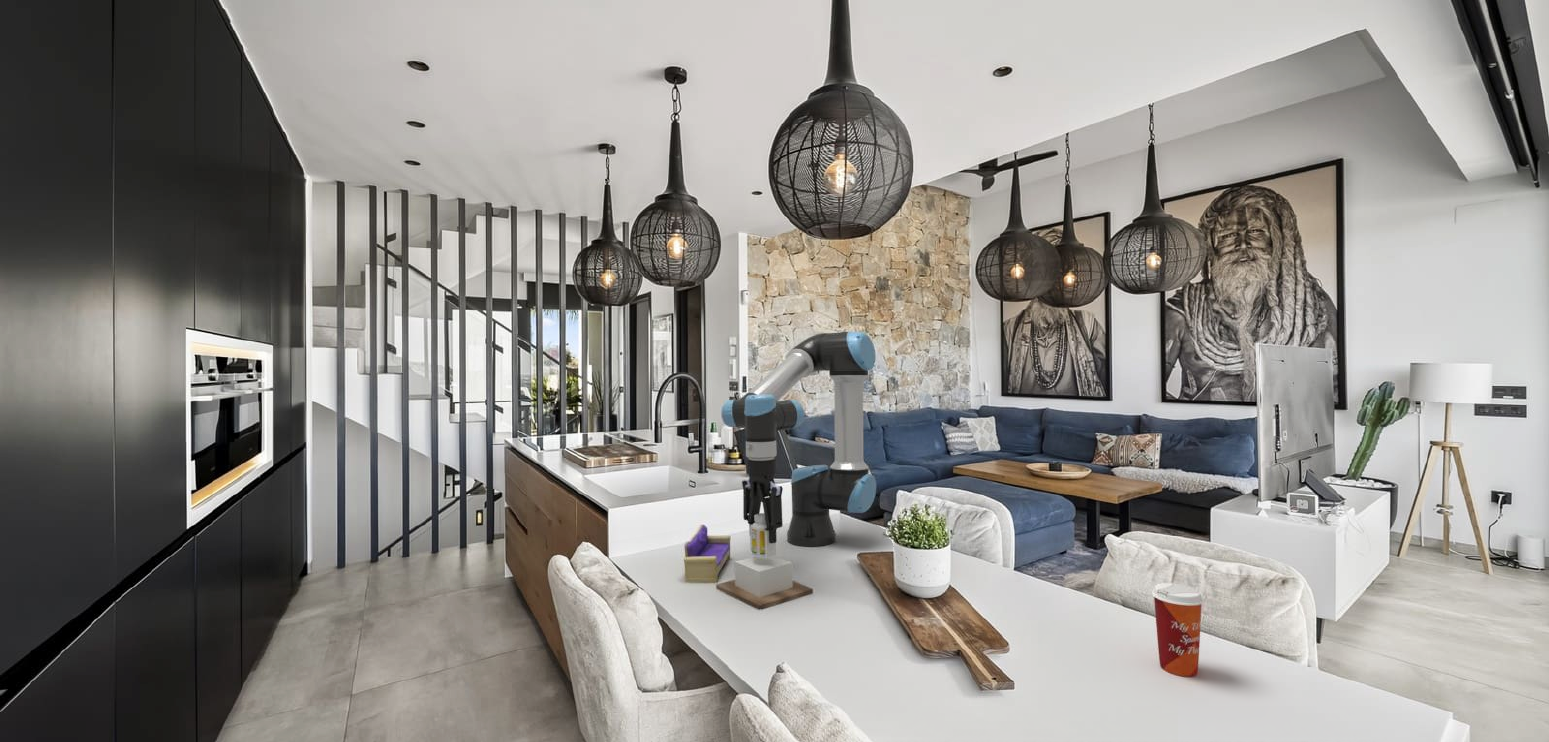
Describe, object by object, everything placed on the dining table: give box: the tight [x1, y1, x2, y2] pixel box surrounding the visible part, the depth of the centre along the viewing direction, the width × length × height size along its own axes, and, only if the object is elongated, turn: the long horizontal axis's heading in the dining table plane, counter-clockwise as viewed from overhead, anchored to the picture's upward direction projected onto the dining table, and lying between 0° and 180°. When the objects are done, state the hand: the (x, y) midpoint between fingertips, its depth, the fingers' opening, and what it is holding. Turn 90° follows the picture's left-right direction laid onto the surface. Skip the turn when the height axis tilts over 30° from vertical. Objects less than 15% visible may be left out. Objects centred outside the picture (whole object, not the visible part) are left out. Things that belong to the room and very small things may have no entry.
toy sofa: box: [683, 524, 731, 583], centre depth 170 cm, size 21×9×10 cm, turn 174°
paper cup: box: [1151, 582, 1205, 678], centre depth 110 cm, size 8×8×14 cm
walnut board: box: [715, 579, 814, 611], centre depth 153 cm, size 16×18×1 cm
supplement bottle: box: [751, 512, 767, 557], centre depth 153 cm, size 5×5×10 cm
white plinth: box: [734, 555, 794, 597], centre depth 153 cm, size 10×10×6 cm
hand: (763, 553), depth 153 cm, fingers closed on supplement bottle, 5 cm apart
